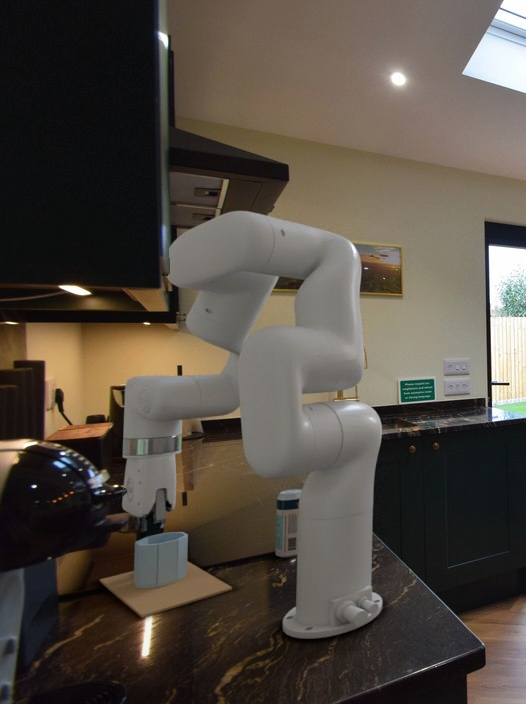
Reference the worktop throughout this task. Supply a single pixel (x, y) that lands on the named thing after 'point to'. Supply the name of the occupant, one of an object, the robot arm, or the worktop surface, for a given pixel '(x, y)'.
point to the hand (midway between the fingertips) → (149, 551)
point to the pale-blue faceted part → (160, 559)
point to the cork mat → (165, 591)
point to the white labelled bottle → (287, 523)
